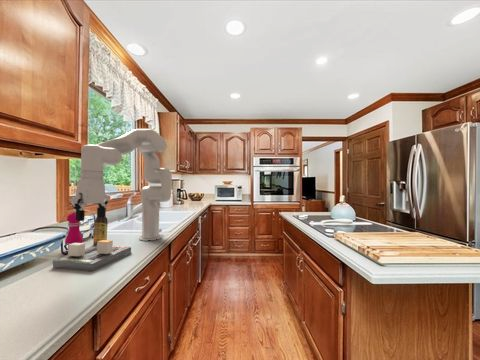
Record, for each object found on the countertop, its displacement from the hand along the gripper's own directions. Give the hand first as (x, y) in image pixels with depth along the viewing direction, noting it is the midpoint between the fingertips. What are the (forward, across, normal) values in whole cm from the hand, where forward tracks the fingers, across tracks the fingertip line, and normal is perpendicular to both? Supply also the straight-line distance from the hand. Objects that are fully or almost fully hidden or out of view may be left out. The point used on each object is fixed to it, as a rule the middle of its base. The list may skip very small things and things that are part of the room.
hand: (91, 218), depth 88 cm
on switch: (+16, -3, -9) cm, 18 cm away
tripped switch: (+16, -8, 0) cm, 17 cm away
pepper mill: (+19, -18, -27) cm, 37 cm away
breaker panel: (+19, -8, -4) cm, 21 cm away
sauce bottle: (+19, -30, -23) cm, 42 cm away
